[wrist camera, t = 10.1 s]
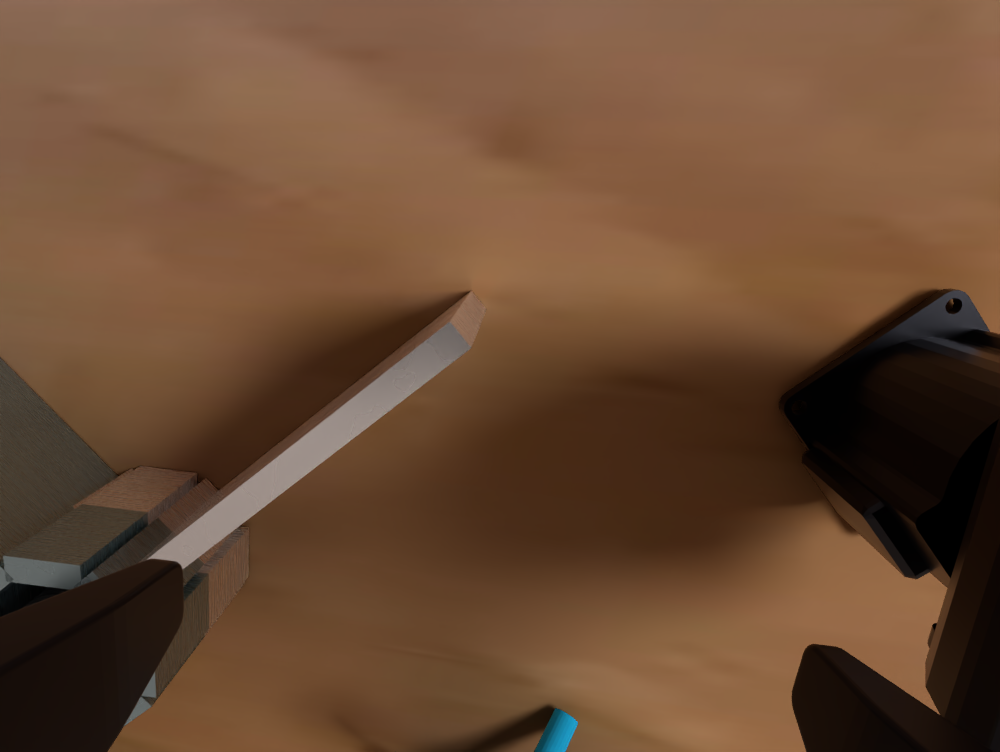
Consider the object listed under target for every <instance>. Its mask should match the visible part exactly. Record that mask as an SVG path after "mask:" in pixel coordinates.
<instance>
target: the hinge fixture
mask: <svg viewBox="0 0 1000 752" xmlns="http://www.w3.org/2000/svg"><path fill="white" fill-rule="evenodd" d="M485 312H486V308H485V307H484V306H483V304H482V303H481V302H480V301H479V299H478V298H477V297H476V296H475V294H474V293H473V292H472V290H471V291H470V292H469V293H468V294H466V295H465V296H464V297H463V298H461V299H460V300H459V301H458V302H456V303H455V304H454V305H453V306H451V307H450V308H449V309H447V310H446V311H445V312H444V313H442V314H441V315H440V316H439V317H437V318H436V319H435V320H434V321H432V322H431V323H430V324H428V325H427V326H426V327H425V328H423V329H422V330H421V331H420V332H418V333H417V334H416V335H415V336H413V337H412V338H411V339H410V340H408V341H407V342H406V343H404V344H403V345H402V346H401V347H399V348H398V349H397V350H396V351H394V352H393V353H392V354H391V355H389V356H388V357H387V358H386V359H384V360H383V361H382V362H380V363H379V364H378V365H377V366H375V367H374V368H373V369H372V370H370V371H369V372H368V373H367V374H365V375H364V376H363V377H361V378H360V379H359V380H358V381H356V382H355V383H354V384H353V385H351V386H350V387H349V388H348V389H346V390H345V391H344V392H343V393H341V394H340V395H339V396H337V397H336V398H335V399H334V400H332V401H331V402H330V403H329V404H327V405H326V406H325V407H324V408H322V409H321V410H320V411H318V412H317V413H316V414H315V415H313V416H312V417H311V418H310V419H308V420H307V421H306V422H305V423H303V424H302V425H301V426H300V427H298V428H297V429H296V430H294V431H293V432H292V433H291V434H289V435H288V436H287V437H286V438H284V439H283V440H282V441H281V442H279V443H278V444H277V445H276V446H274V447H273V448H272V449H270V450H269V451H268V452H267V453H265V454H264V455H263V456H262V457H260V458H259V459H258V460H257V461H255V462H254V463H253V464H251V465H250V466H249V467H248V468H246V469H245V470H244V471H243V472H241V473H240V474H239V475H238V476H236V477H235V478H234V479H233V480H231V481H230V482H229V483H227V484H226V485H225V486H224V487H222V488H221V489H220V490H219V491H218V490H217V489H216V488H215V486H214V485H213V484H212V483H211V482H210V481H209V480H208V479H207V478H205V479H204V480H202V481H201V482H200V483H199V484H198V485H197V473H192V472H184V471H177V470H169V469H161V468H153V467H145V466H139V467H138V468H136V469H135V470H133V469H132V468H131V469H130V470H128V471H126V472H125V473H123V474H122V475H120V476H119V477H118V476H117V475H116V474H115V473H114V472H113V471H112V469H111V468H110V467H109V466H108V465H107V464H106V463H105V462H104V461H103V460H102V459H101V458H100V457H99V456H98V455H97V454H96V453H95V452H94V451H93V450H92V449H91V448H90V447H89V446H88V445H87V444H86V443H85V442H84V441H83V440H82V439H81V438H80V437H79V436H78V435H77V434H76V433H75V432H74V431H73V430H72V429H71V428H70V427H69V426H68V425H67V424H66V423H65V422H64V421H63V420H62V419H61V418H60V417H59V416H58V415H57V414H56V413H55V412H54V411H53V410H52V409H51V408H50V407H49V406H48V405H47V404H46V403H45V402H44V401H43V400H42V399H41V398H40V397H39V396H38V395H37V394H36V393H35V392H34V391H33V390H32V389H31V388H30V387H29V386H28V385H27V384H26V383H25V382H24V381H23V380H22V379H21V378H20V377H19V376H18V375H17V374H16V373H15V372H14V371H13V370H12V369H11V368H10V367H9V366H8V365H7V364H6V363H5V362H4V361H3V360H2V359H1V358H0V617H2V616H4V615H7V614H9V613H12V612H14V611H17V610H20V609H21V608H22V607H24V606H25V605H26V604H27V603H29V602H30V601H31V600H33V599H34V598H35V597H36V596H38V595H39V594H40V593H42V592H43V591H44V590H45V589H47V588H48V587H53V588H61V589H68V590H71V589H73V588H76V587H78V586H81V585H84V584H86V583H89V582H91V581H94V580H96V579H99V578H101V577H104V576H107V575H109V574H112V573H114V572H117V571H119V570H122V569H124V568H127V567H130V566H132V565H135V564H137V563H140V562H142V561H145V560H148V559H162V560H169V561H176V562H178V563H179V564H180V565H181V566H182V569H183V591H184V614H183V619H182V623H181V625H180V628H179V630H178V632H177V633H176V635H175V637H174V639H173V640H172V642H171V644H170V646H169V648H168V649H167V651H166V653H165V655H164V656H163V658H162V660H161V662H160V664H159V665H158V667H157V669H156V671H155V672H154V674H153V676H152V678H151V680H150V681H149V683H148V685H147V687H146V688H145V690H144V692H143V694H142V696H141V697H140V699H139V701H138V703H137V704H136V706H135V708H134V710H133V712H132V713H131V715H130V717H129V718H128V720H127V722H126V723H125V725H126V724H128V723H129V722H131V721H132V720H133V719H135V718H136V717H138V716H139V715H140V714H142V713H143V712H145V711H146V710H147V709H149V708H150V707H152V705H153V704H154V703H155V701H156V700H157V699H158V697H159V696H160V695H161V693H162V692H163V691H164V690H165V688H166V687H167V686H168V684H169V683H170V682H171V680H172V679H173V678H174V676H175V675H176V674H177V672H178V671H179V670H180V668H181V667H182V666H183V664H184V663H185V662H186V660H187V659H188V658H189V657H190V655H191V654H192V653H193V651H194V650H195V649H196V647H197V646H198V645H199V643H200V642H201V641H202V639H203V638H204V637H205V635H206V634H207V633H208V631H209V630H210V629H211V627H212V626H213V625H214V624H215V622H216V621H217V620H218V618H219V617H220V616H221V614H222V613H223V612H224V610H225V609H226V608H227V606H228V605H229V604H230V602H231V601H232V600H233V598H234V597H235V596H236V594H237V593H238V592H239V591H240V589H241V588H242V587H243V585H244V584H245V583H244V582H245V580H246V579H247V578H248V576H249V527H243V526H240V525H241V524H243V523H244V522H245V521H247V520H248V519H249V518H250V517H252V516H253V515H254V514H256V513H257V512H258V511H260V510H261V509H262V508H263V507H265V506H266V505H267V504H269V503H270V502H271V501H273V500H274V499H275V498H277V497H278V496H279V495H280V494H282V493H283V492H284V491H286V490H287V489H288V488H290V487H291V486H292V485H293V484H295V483H296V482H297V481H299V480H300V479H301V478H303V477H304V476H305V475H306V474H308V473H309V472H310V471H312V470H313V469H314V468H316V467H317V466H318V465H319V464H321V463H322V462H323V461H325V460H326V459H327V458H329V457H330V456H331V455H333V454H334V453H335V452H336V451H338V450H339V449H340V448H342V447H343V446H344V445H346V444H347V443H348V442H349V441H351V440H352V439H353V438H355V437H356V436H357V435H359V434H360V433H361V432H362V431H364V430H365V429H366V428H368V427H369V426H370V425H372V424H373V423H374V422H375V421H377V420H378V419H379V418H381V417H382V416H383V415H385V414H386V413H387V412H389V411H390V410H391V409H392V408H394V407H395V406H396V405H398V404H399V403H400V402H402V401H403V400H404V399H405V398H407V397H408V396H409V395H411V394H412V393H413V392H415V391H416V390H417V389H418V388H420V387H421V386H422V385H424V384H425V383H426V382H428V381H429V380H430V379H431V378H433V377H434V376H435V375H437V374H438V373H439V372H441V371H442V370H443V369H445V368H446V367H447V366H448V365H450V364H451V363H452V362H454V361H455V360H456V359H458V358H459V357H460V356H461V355H463V354H464V353H465V352H467V351H468V350H469V349H471V347H472V345H473V342H474V340H475V337H476V335H477V332H478V330H479V327H480V325H481V322H482V320H483V317H484V315H485ZM125 725H124V726H125Z"/></svg>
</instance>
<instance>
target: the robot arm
mask: <svg viewBox="0 0 1000 752" xmlns="http://www.w3.org/2000/svg"><path fill="white" fill-rule="evenodd" d="M950 299H953V302H954V304H953V307H952V308H951V309H950V310H949V311H946V308H945V306H946V303H947V302H948V301H949V300H950ZM798 400H801V402H802V405H801V407H800V408H799V409H798V410H796V411H792V409H791V408H792V404H793V403H794V402H795V401H798ZM779 409H780V411H781V413H782V415H783V416H784V417H785V419H786V420H787V422H788V423H789V424H790V426H791V427H792V429H793V430H794V432H795V433H796V434H797V436H798V437H799V439H800V440H801V442H802V443H803V444H804V446H805V447H806V449H807V450H808V451H806V452H805V453H803V456H802V464H803V465H804V467H805V468H806V469H807V471H808V472H809V474H810V475H811V476H812V478H813V479H814V481H815V482H816V483H817V485H818V486H819V488H820V489H821V490H822V492H823V493H824V495H825V496H826V498H827V499H828V500H829V502H830V503H831V505H832V506H833V507H834V509H835V510H836V512H837V513H838V514H839V515H840V516H841V517H842V518H843V519H844V520H845V521H846V522H847V523H849V524H850V525H851V526H852V527H853V528H854V529H855V530H856V531H857V532H858V533H859V534H860V535H861V536H862V537H863V538H864V539H865V540H866V541H868V542H869V543H870V544H871V545H872V546H873V547H874V548H875V549H876V550H877V551H878V552H879V553H880V554H881V555H882V556H883V557H884V558H885V559H886V560H888V561H889V562H890V563H891V564H892V565H893V566H894V567H895V568H896V569H897V570H898V571H899V572H900V573H901V574H902V575H903V576H904V577H908V578H912V579H918V578H920V577H922V576H924V575H925V574H927V573H929V572H930V573H931V574H932V575H933V576H934V577H936V578H937V579H938V580H939V581H940V582H941V583H942V584H944V585H945V586H946V587H947V588H948V589H947V592H946V596H945V599H944V602H943V606H942V609H941V612H940V616H939V619H938V622H937V623H934V624H933V625H932V628H931V632H930V635H929V638H928V646H929V648H930V649H929V652H928V655H927V659H926V688H927V690H928V692H929V694H930V696H931V698H932V700H933V702H934V704H935V706H936V708H937V709H938V711H939V713H940V715H941V716H940V715H939V714H937V713H936V712H935V711H933V710H932V709H930V708H929V707H927V706H926V705H924V704H923V703H921V702H920V701H918V700H917V699H915V698H914V697H912V696H911V695H909V694H908V693H906V692H905V691H904V690H902V689H901V688H899V687H898V686H896V685H895V684H893V683H892V682H890V681H889V680H887V679H886V678H884V677H883V676H881V675H880V674H878V673H877V672H875V671H874V670H872V669H871V668H870V667H868V666H867V665H865V664H864V663H862V662H861V661H859V660H858V659H856V658H855V657H853V656H852V655H850V654H849V653H847V652H846V651H844V650H843V649H841V648H838V647H834V646H827V645H819V644H811V645H809V646H807V648H806V649H805V651H804V653H803V656H802V659H801V663H800V666H799V669H798V673H797V676H796V679H795V683H794V686H793V690H792V706H793V710H794V714H795V717H796V720H797V723H798V726H799V730H800V733H801V736H802V739H803V742H804V745H805V749H806V752H1000V334H997V333H993V332H990V331H989V329H988V327H987V326H986V324H985V322H984V321H983V319H982V317H981V316H980V314H979V312H978V311H977V309H976V307H975V306H974V304H973V302H972V301H971V299H970V298H969V296H968V295H967V294H966V293H965V292H963V291H960V290H955V289H943V290H941V291H939V292H937V293H935V294H934V295H932V296H931V297H929V298H928V299H926V300H925V301H923V302H922V303H920V304H919V305H917V306H916V307H914V308H913V309H911V310H910V311H908V312H907V313H905V314H904V315H902V316H901V317H899V318H898V319H896V320H895V321H893V322H892V323H890V324H889V325H887V326H886V327H884V328H883V329H881V330H880V331H878V332H877V333H875V334H874V335H872V336H871V337H869V338H868V339H866V340H865V341H863V342H862V343H860V344H859V345H857V346H856V347H854V348H853V349H851V350H850V351H848V352H847V353H845V354H844V355H842V356H841V357H839V358H838V359H836V360H834V361H833V362H831V363H830V364H828V365H827V366H825V367H824V368H822V369H821V370H819V371H818V372H816V373H815V374H813V375H812V376H810V377H809V378H807V379H806V380H804V381H803V382H801V383H800V384H798V385H797V386H795V387H794V388H792V389H791V390H789V391H788V392H786V393H785V394H784V395H783V396H782V397H781V399H780V402H779ZM183 614H184V591H183V569H182V566H181V565H180V564H179V563H178V562H176V561H169V560H162V559H148V560H145V561H142V562H140V563H137V564H135V565H132V566H130V567H127V568H124V569H122V570H119V571H117V572H114V573H112V574H109V575H107V576H104V577H101V578H99V579H96V580H94V581H91V582H89V583H86V584H84V585H81V586H78V587H76V588H73V589H71V590H68V591H66V592H63V593H61V594H58V595H55V596H53V597H50V598H48V599H45V600H43V601H40V602H38V603H35V604H32V605H30V606H27V607H25V608H22V609H20V610H17V611H14V612H12V613H9V614H7V615H4V616H2V617H0V752H107V751H108V750H109V748H110V747H111V745H112V744H113V742H114V741H115V739H116V738H117V736H118V735H119V733H120V732H121V730H122V728H123V727H124V725H125V723H126V722H127V720H128V718H129V717H130V715H131V713H132V712H133V710H134V708H135V706H136V704H137V703H138V701H139V699H140V697H141V696H142V694H143V692H144V690H145V688H146V687H147V685H148V683H149V681H150V680H151V678H152V676H153V674H154V672H155V671H156V669H157V667H158V665H159V664H160V662H161V660H162V658H163V656H164V655H165V653H166V651H167V649H168V648H169V646H170V644H171V642H172V640H173V639H174V637H175V635H176V633H177V632H178V630H179V628H180V625H181V623H182V619H183Z"/></svg>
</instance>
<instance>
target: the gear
mask: <svg viewBox="0 0 1000 752" xmlns="http://www.w3.org/2000/svg"><path fill="white" fill-rule="evenodd" d="M577 725H578V722H577V721H576V720H575V719H574V718H573V717H571V716H570V715H568V714H567V713H565V712H564V711H562V710H560V709H557V708H555V710H554V712H553V714H552V716H551V718H550V720H549V722H548V724H547V726H546V728H545V730H544V732H543V735H542V737H541V739H540V741H539V743H538V745H537V747H536V749H535V751H534V752H565V751H566V749H567V747H568V744H569V742H570V740H571V738H572V736H573V733H574V731H575V729H576V727H577Z"/></svg>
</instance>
